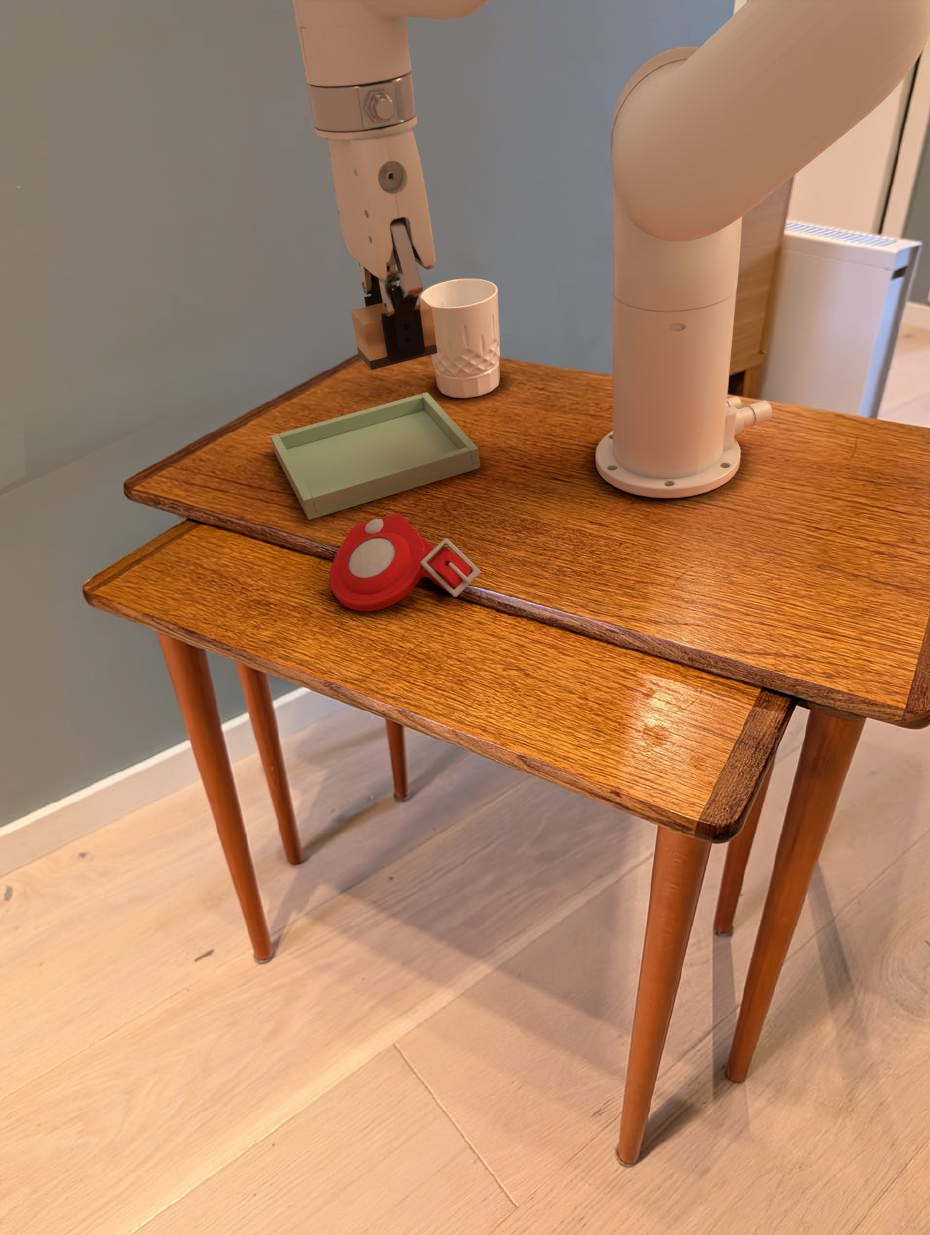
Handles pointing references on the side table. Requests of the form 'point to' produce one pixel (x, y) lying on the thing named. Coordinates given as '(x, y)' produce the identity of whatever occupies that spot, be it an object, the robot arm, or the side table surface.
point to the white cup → (465, 336)
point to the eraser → (373, 336)
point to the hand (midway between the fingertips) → (397, 345)
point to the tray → (373, 454)
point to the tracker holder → (393, 564)
